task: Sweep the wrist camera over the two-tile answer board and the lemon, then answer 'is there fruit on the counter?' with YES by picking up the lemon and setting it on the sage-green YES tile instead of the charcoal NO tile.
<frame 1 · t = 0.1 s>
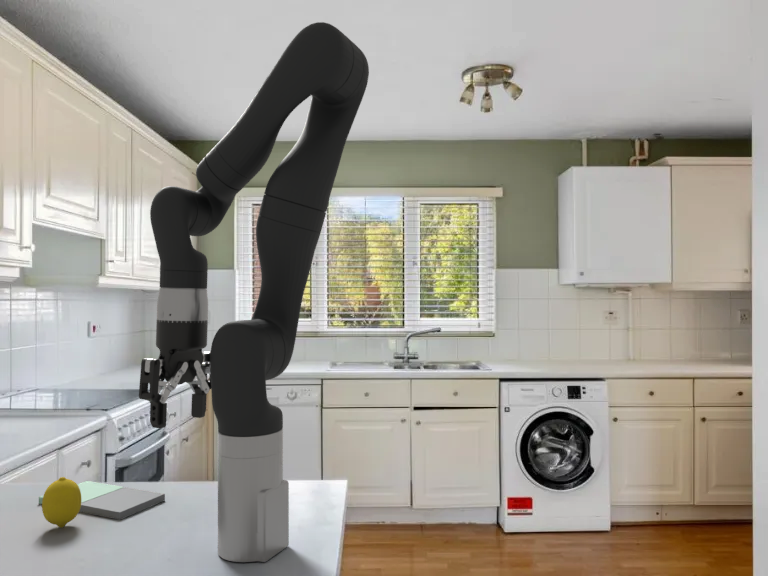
hand: (179, 422, 89), 17 cm above the countertop, tool pointing down, fingers open, 8 cm apart
answer board: (102, 501, 104), on the countertop
lemon: (61, 528, 92), on the countertop
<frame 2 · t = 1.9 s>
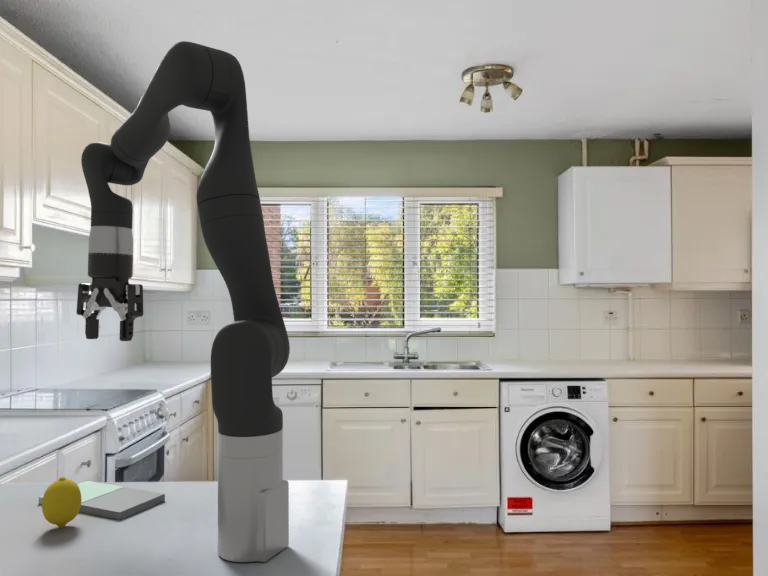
hand: (108, 339, 107), 29 cm above the countertop, tool pointing down, fingers open, 8 cm apart
nothing on the countertop moved.
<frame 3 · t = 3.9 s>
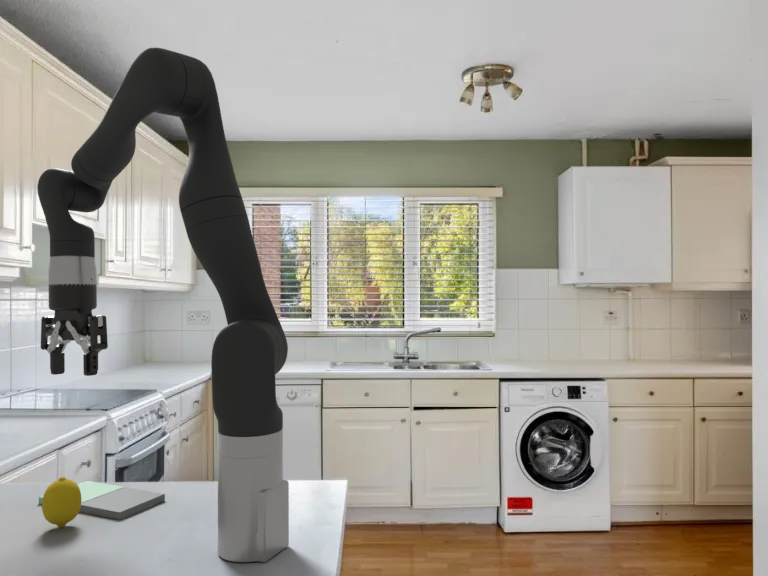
hand: (73, 374, 102), 23 cm above the countertop, tool pointing down, fingers open, 8 cm apart
nothing on the countertop moved.
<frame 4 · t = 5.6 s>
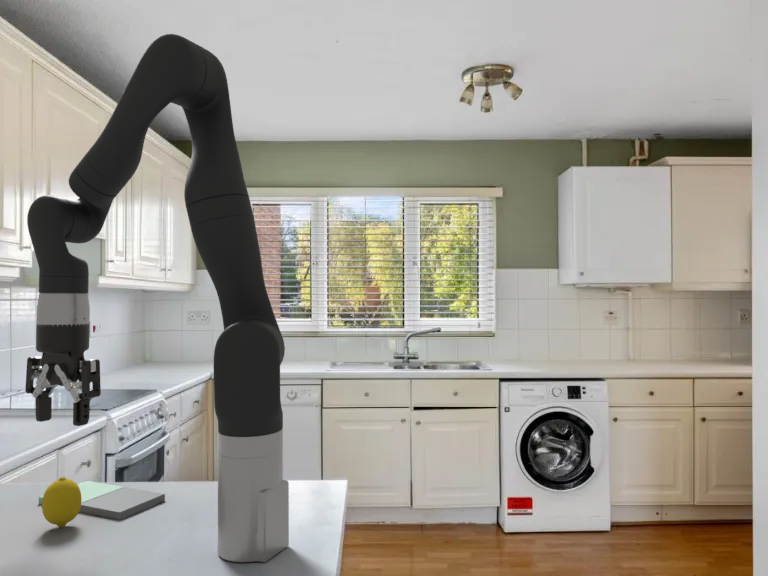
hand: (61, 422, 92), 17 cm above the countertop, tool pointing down, fingers open, 8 cm apart
nothing on the countertop moved.
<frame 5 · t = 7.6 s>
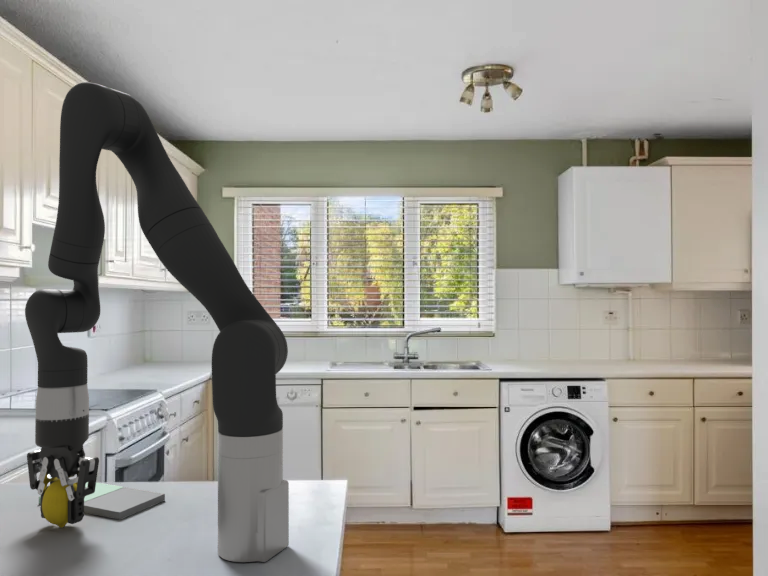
hand: (61, 518, 92), 1 cm above the countertop, tool pointing down, fingers closed on lemon, 5 cm apart
lemon: (61, 528, 92), on the countertop, touching gripper
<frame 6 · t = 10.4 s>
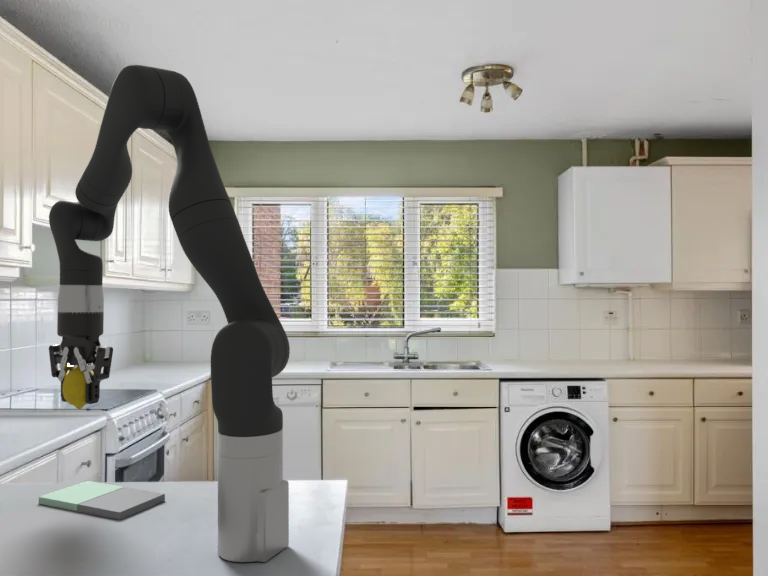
hand: (79, 401, 106), 18 cm above the countertop, tool pointing down, fingers closed on lemon, 5 cm apart
lemon: (79, 410, 106), point 16 cm above the countertop, touching gripper
when the fingers open (4 cm above the countertop, at t = 13.5 s): lemon drops 1 cm, resting on answer board.
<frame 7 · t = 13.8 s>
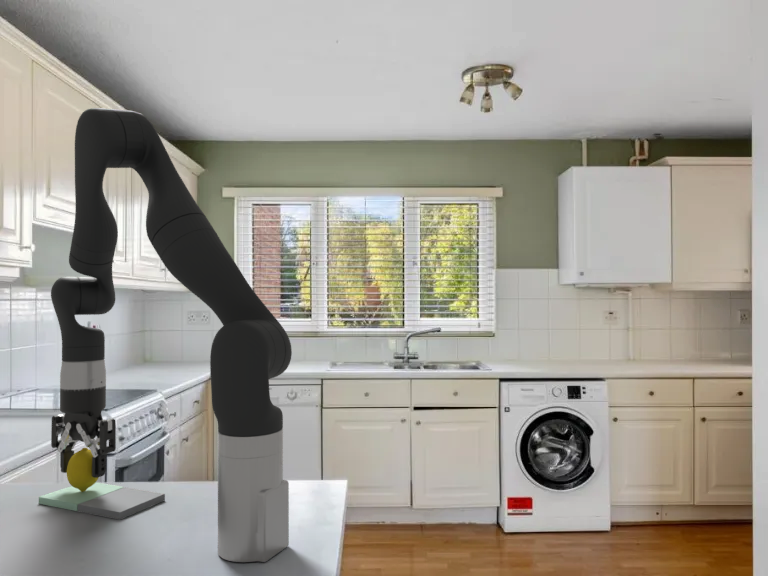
hand: (82, 473, 106), 4 cm above the countertop, tool pointing down, fingers open, 7 cm apart
lemon: (83, 492, 106), point 1 cm above the countertop, touching answer board
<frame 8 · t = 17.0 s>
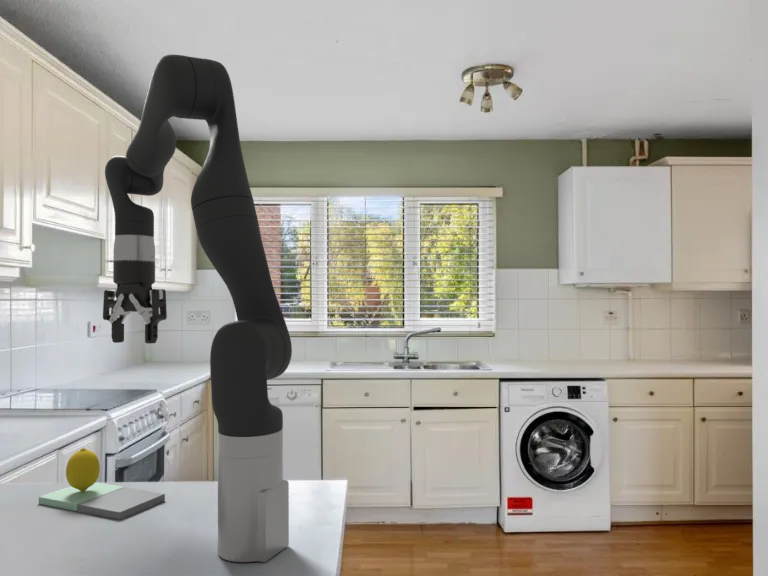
hand: (134, 342, 112), 28 cm above the countertop, tool pointing down, fingers open, 8 cm apart
nothing on the countertop moved.
at the end: lemon inside the target area on the answer board (0.5 cm from its centre), point 1.0 cm above the answer board's base; the gripper is holding nothing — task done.
